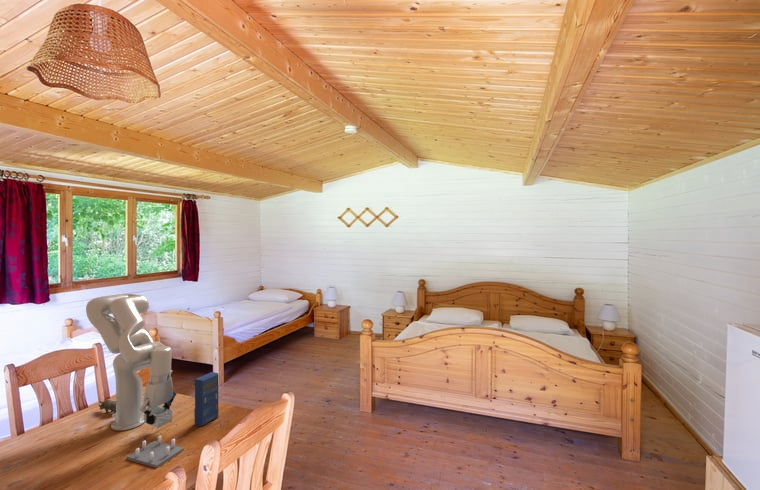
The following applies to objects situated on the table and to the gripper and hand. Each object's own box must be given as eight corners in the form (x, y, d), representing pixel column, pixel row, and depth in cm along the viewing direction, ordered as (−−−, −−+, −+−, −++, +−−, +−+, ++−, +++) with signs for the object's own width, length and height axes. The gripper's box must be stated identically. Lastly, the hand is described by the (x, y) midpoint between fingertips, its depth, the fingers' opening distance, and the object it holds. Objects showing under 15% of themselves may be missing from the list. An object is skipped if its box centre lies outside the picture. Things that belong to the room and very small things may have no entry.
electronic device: (202, 427, 151) (202, 380, 151) (193, 424, 153) (193, 378, 153) (219, 417, 160) (219, 373, 160) (211, 415, 162) (211, 371, 161)
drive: (143, 421, 145) (144, 410, 145) (158, 415, 150) (159, 404, 150) (157, 428, 141) (157, 417, 141) (171, 421, 146) (172, 410, 146)
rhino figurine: (103, 408, 168) (103, 395, 168) (124, 412, 164) (124, 400, 164) (94, 412, 164) (94, 399, 164) (115, 417, 160) (115, 403, 160)
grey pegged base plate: (126, 459, 128) (126, 448, 128) (154, 443, 139) (154, 433, 139) (156, 468, 123) (156, 456, 123) (183, 450, 134) (183, 440, 134)
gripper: (171, 368, 155) (169, 408, 155) (132, 383, 138) (130, 427, 139) (184, 371, 152) (182, 412, 153) (146, 387, 136) (144, 432, 136)
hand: (158, 419), depth 146 cm, fingers closed on drive, 6 cm apart
